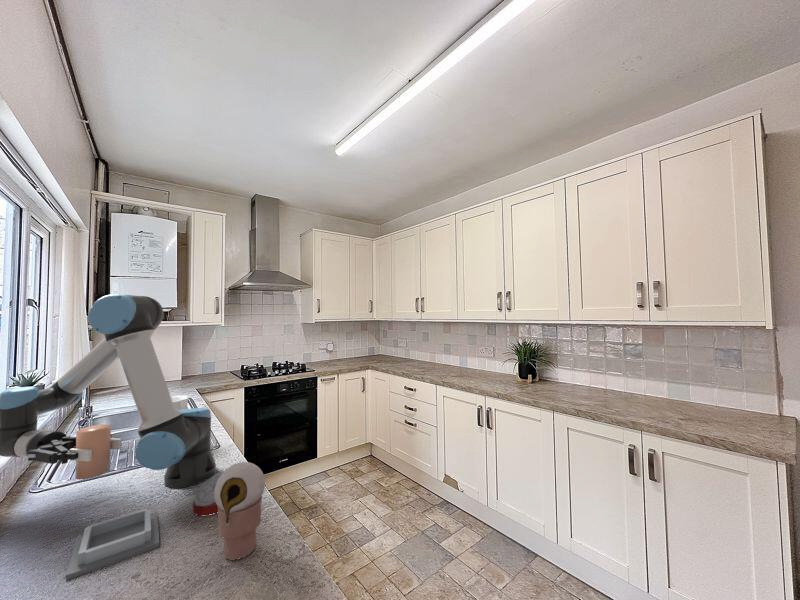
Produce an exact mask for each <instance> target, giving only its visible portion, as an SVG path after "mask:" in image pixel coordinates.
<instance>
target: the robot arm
mask: <svg viewBox="0 0 800 600" xmlns="http://www.w3.org/2000/svg"><path fill="white" fill-rule="evenodd" d="M87 316H88V322H89V325H90V327H91V328H92V329H93V330H94V331H95V332H98V333H100V334H103V336H104V338H103V339H102V340H101V341H100V342H99V343H98V344H96V346H94V347H93V348H91V350H90V351H89V352H88V353H87V354H86V355H84V356H83V357H82V358H80V360H79V361H77V363H75V364H74V365H73V366H72V367H70V369H69V370H68V371H67V372H65V373H64V374H63V375H62V376H61V377H60V378H58V380H57V381H56V382H55V383H53V384H52V385H51V386H49V387H47V388H42V389H38V387H36V386H22V387H21V386H20V387H15V388H9V389H6V390H3V391H2V392H1V393H0V457H5V458H8V457H9V458H13V457H14V458H22V459H27V461H28V462H29V461H30V462H31V461H32V462H33V461H35V462H36V461H37V462H40V463H45V464H50V465H54V464H57V463H58V461H61V462H60V463H61V464H62V465H64V464H67V463H68V461H75V462H76V461H87V462H88V461H91V457H92V450H87V449H76V436H71V435H70V436H67V434H65V432H63V431H61V430H60V431H59V430H48V429H38V416H40V415H43V414H46V413H49V412H53V411H56V410H59V409H63V408H68V407H70V406H71V405H74V404H76V403H78V402H79V401H80V400H81V399H82V396H83V395H84V394H83V393H84V391H85V390H86V389H87V388H88V387H89V386H91V384H93V383H94V381H96V380H97V379H98V378H99V377H101V375H102V374H103V373H104V372H105V371H106V370H108V369H109V368H110V367H111V366H112V365H114V363H115V362H117V361H118V359H119V360H120V363H121V366H122V369H123V373H124V375H125V377H126V380H127V383H128V387H129V389H130V392H131V396H132V399H133V400H134V404H135V407H136V408H137V413H138V415H139V418H140V421H141V423H140V425H139V426H138V428H137V434H138V436H139V440H138V442H137V445H136V447H135V450H134V453H135V454H134V455H135V459H136V460H137V462H138V463H139V464H140V465H141V466H142V467H144V468H146V469H150V470H152V471H160V470H161V471H162V470H165V469H166V470H165V473H164V477H163V478H164V479H163V483H164V485H165V487H168V488H173V489H174V488H175V489H177V488H180V489H181V488H186V487H190V486H195V485H197V484H200V482H201V483H204V482H206V481H207V480H208V479H209V478H210V477H211V476H212V477H213V476H214V475H215V474H216V473H215V472H217V464H216V461H215V458H214V456H213V453H212V449H211V442H212V441H211V440H212V439H211V437H212V436H211V435H212V434H211V433H212V432H211V431H212V429H211V428H212V427H211V426H212V414H211V410H210V408H207V407H196V408H195V407H194V408H192V407H191V408H187V409H183V410H176V409H175V407H174V405H173V402H172V399H171V397H172V395H171V394H170V390H169V388H168V385H167V382H166V379H165V376H164V373H163V371H162V368H161V365H160V361H159V359H158V356H157V353H156V350H155V346H154V344H153V341H152V338H151V337H152V335H153V334H154V332H155V330H156V329H157V328H158V327H159V326H160V325H161V323H162V322H163V319H164V309H163V306H162V305H161V303H160V302H159V301H158V300H157V299H155V298H152V297H150V296H146V295H134V294H133V295H132V294H131V295H130V294H126V293H117V294H115V293H113V294H107V295H104V296H101V297H99V298H98V299H97V300H96V301H94V303H93V305H92V306H91V307H90V309H89V311H88V315H87ZM122 441H123V439H122V438H116V437H115V438H114V437H112V433H111V450H119V451H120V450H121V449H122V448H123V447H122V446H123V443H122Z"/></svg>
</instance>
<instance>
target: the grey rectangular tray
mask: <svg viewBox="0 0 800 600" xmlns="http://www.w3.org/2000/svg"><path fill="white" fill-rule="evenodd" d="M159 532H160V531H159V520H158V511H155V512H151V507H150V508H146V509H145V508H143V509H139V510H136V511H133V512H130V513H129V512H128V513H126V514H123V515H120V516H116V517H113V518H109V519H106V520H102V521H100V522H95V523H93V524H92V525H89V526H86V527H85V528H84V531H83V534H80V535H77V537H76V541H75V543H74V547H73V550H72V553H71V557H70V560H69V563H68V567H67V570H66V573H65V581H69V580H70V579H73V578H75V577H79V576H82V575H84V574H87V573H90V572H92V571H96V570H99V569H101V568H103V567H106V566H109V565H113V564H115V563H117V562H120V561H124V560H127V559H130V558H132V557H134V556H137V555H141V554H143V553H145V552H148V551H151V550H153V549H157V548H159V547H160V537H159V536H160V534H159Z"/></svg>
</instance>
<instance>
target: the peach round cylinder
mask: <svg viewBox="0 0 800 600" xmlns="http://www.w3.org/2000/svg"><path fill="white" fill-rule="evenodd" d="M111 434H112V425H111V424H107V423H106V424H103V423H102V424H97V425H90V426H87V427H82V428H80V429H78V430H76V432H75V437H76V449H87V450H92V457H91V461H88V462H87V461H76V460H75V472H74V473H75V476H74V477H75V479H76V480H86V479H87V480H88V479H92V478H96V477H100V476H101V475H104V474H107V473H108V472H110V470H111V450H112V449H111Z"/></svg>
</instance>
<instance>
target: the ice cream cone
mask: <svg viewBox="0 0 800 600" xmlns="http://www.w3.org/2000/svg"><path fill="white" fill-rule="evenodd" d="M222 472H223V473H222V474H221V476H220V477H219V479H218V481H217V483H216V486H215V490H214V498H215V502H216V504H217V506H218V513H217V515H218V533H219V535H220V536H221V537H223V556H224V558H225V557H226V558H227V559H230V560H229V561H231V560H233V561H236V560H235V559H239V558H242V557H244V556H247V555H248V554H249V553H251V552H252V551H253V550H254V548H255V549H256V547H257V532H256V531H257V528H258V527H259V526H260V524H261V520H262V500H263V493H264V491H265V487H266V486H265V485H266V480H265V479H266V478H265V475H264V473H263V472H264V471H262V469H261V468H260V467H259V466H258V465H256V464H255V463H254V462H253V463H252V462H249V461H248V462H247V461H242V462H241V461H240V462H236V463H235V464H232V465H231V466H229V467H227V468H226V469H225V470H223V471H222ZM255 546H256V547H255ZM254 551H255V550H254ZM254 551H253V552H254ZM253 552H252V553H253ZM252 553H251V554H252ZM248 556H249V555H248ZM248 556H247V557H248ZM226 558H225V559H226ZM227 559H226V560H227ZM242 559H243V558H242Z"/></svg>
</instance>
